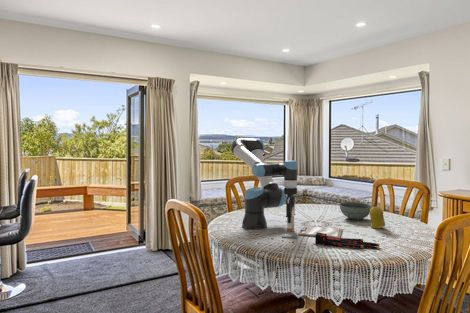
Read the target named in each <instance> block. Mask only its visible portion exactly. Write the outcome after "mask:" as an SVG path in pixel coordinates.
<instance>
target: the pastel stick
mask: <svg viewBox="0 0 470 313" xmlns="http://www.w3.org/2000/svg"><path fill="white" fill-rule="evenodd" d="M294 214H295V213H294V207H292V229H291V228H287V227H286V231H287V232H289V233H290V232H291V233H292V232H295V215H294Z"/></svg>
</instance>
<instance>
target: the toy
mask: <svg viewBox="0 0 470 313" xmlns="http://www.w3.org/2000/svg"><path fill="white" fill-rule="evenodd" d="M314 244H315V245H320V246H326V245H327V244H328V245H334V246H338V247H345V248H353V249H362V250H364V248H366V249H369V248H370V249H371V250H378V249H379V250H380V243H377V242H367V241H364V239H363V238H350V237H347V238H346V237H340V238H338V237H330V236H327V234H325V233H316V237H315V243H314Z"/></svg>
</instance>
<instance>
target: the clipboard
mask: <svg viewBox="0 0 470 313" xmlns="http://www.w3.org/2000/svg"><path fill="white" fill-rule="evenodd" d="M316 233H325V234H327V236H330V237H338V238H342V237H341V236H342V233H343V228H336V227H325V226H315V225H314V226H311V225H304V226H303V225H302V227H301V228H300V231H299V232H298V234H297V236H303V237H309V238H310V237H311V238H316Z"/></svg>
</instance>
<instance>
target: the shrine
mask: <svg viewBox="0 0 470 313" xmlns="http://www.w3.org/2000/svg"><path fill="white" fill-rule="evenodd" d="M368 216H370V217H369V218H370V227H371V229H377V230H378V229H381V228H382V229H383V228H385V226H386V221H385V217H384V210H383V209H382V208H381V207H380V206H378V205H377V204H374V205H372V208H371V209H370V213H369V215H368Z"/></svg>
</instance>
